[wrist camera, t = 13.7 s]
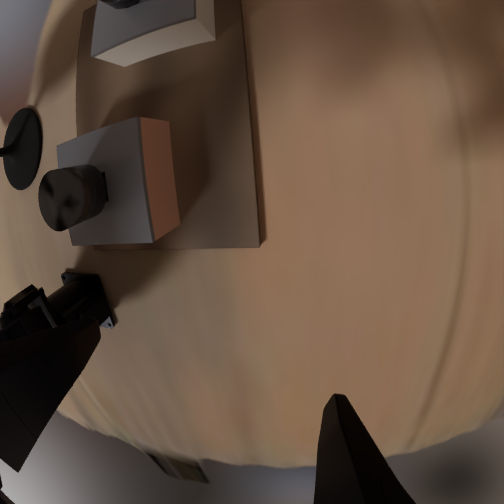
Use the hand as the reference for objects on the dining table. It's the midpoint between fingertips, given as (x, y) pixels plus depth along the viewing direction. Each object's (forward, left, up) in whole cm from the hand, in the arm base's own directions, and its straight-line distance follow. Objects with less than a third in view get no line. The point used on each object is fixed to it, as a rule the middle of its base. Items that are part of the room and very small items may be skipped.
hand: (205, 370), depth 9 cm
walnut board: (-8, +13, -13) cm, 20 cm away
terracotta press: (-10, +6, -13) cm, 17 cm away
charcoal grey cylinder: (-10, +6, -12) cm, 17 cm away
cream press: (-6, +20, -13) cm, 25 cm away
